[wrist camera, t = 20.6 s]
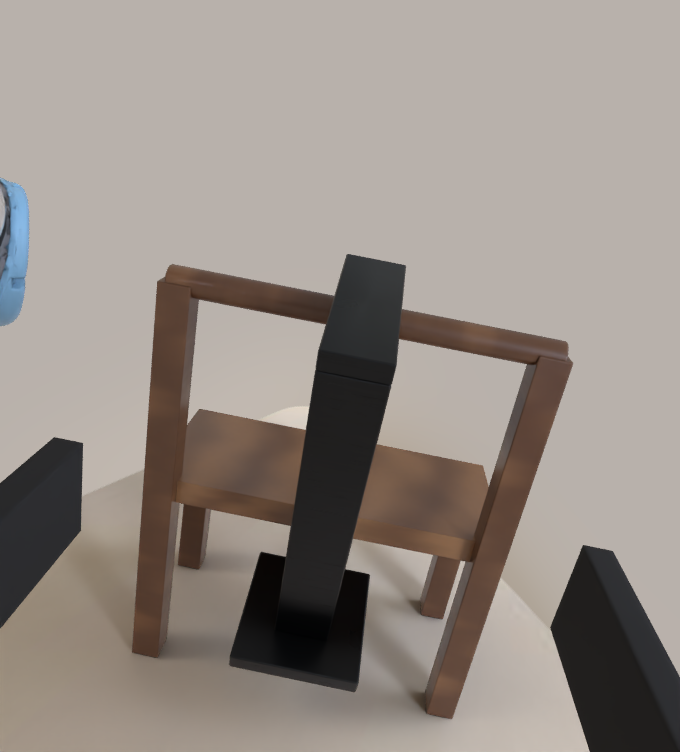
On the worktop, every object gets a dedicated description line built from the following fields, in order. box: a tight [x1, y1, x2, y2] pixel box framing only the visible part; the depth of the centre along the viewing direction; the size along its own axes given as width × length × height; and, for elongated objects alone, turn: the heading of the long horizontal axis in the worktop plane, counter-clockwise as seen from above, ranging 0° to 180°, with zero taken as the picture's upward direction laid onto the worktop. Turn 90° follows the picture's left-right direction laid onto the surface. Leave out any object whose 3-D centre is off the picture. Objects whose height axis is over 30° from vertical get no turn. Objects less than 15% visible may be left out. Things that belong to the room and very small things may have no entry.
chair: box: [132, 264, 573, 719], centre depth 37 cm, size 20×10×24 cm, turn 85°
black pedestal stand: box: [229, 254, 406, 692], centre depth 31 cm, size 11×7×20 cm, turn 175°
